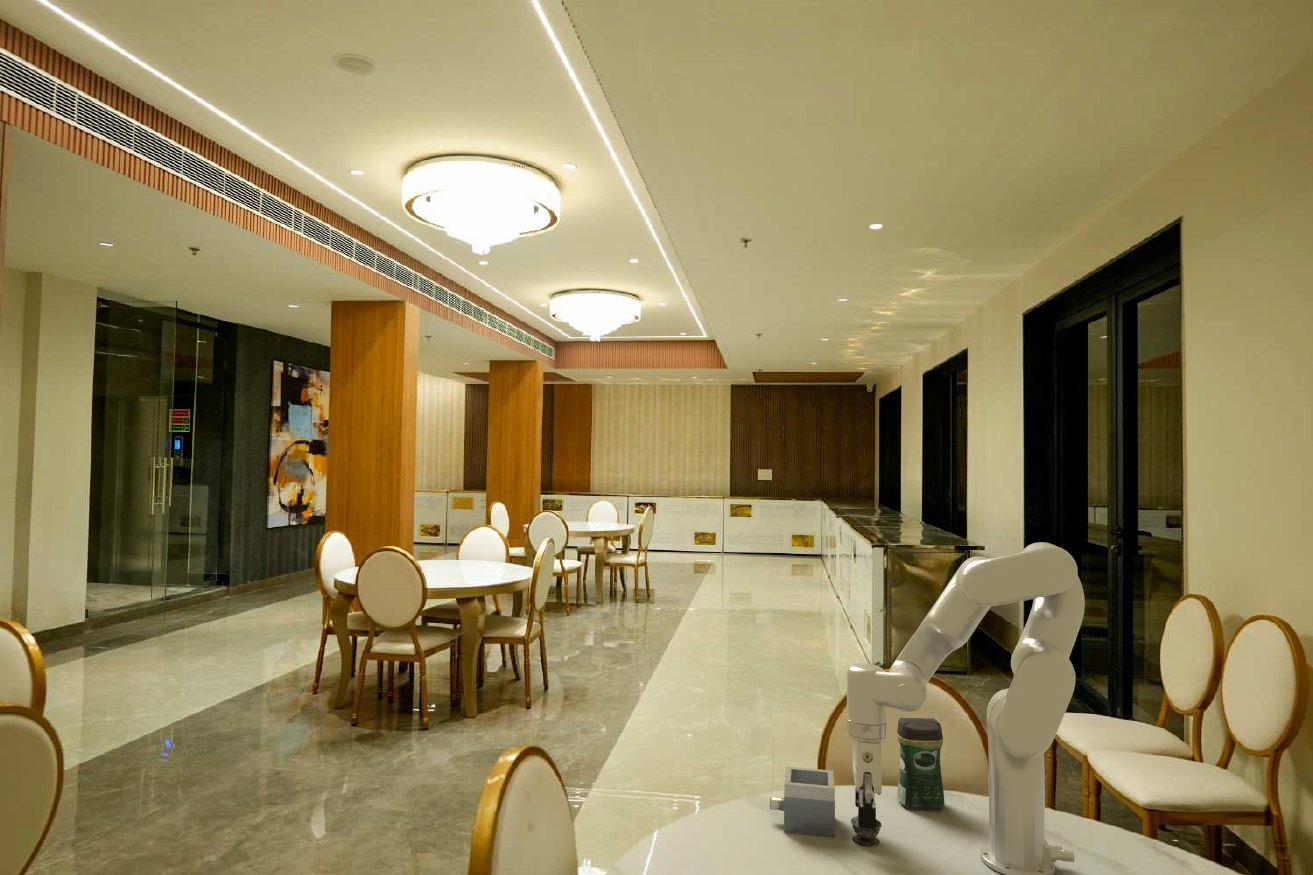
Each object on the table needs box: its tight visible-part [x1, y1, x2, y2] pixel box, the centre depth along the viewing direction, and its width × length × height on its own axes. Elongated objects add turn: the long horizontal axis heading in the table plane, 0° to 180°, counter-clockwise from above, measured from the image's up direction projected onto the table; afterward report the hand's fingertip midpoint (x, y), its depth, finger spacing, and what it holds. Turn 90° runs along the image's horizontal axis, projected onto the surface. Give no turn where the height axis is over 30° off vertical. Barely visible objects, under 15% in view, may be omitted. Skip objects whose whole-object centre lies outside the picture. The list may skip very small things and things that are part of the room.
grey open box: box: [769, 766, 836, 839], centre depth 161 cm, size 13×12×10 cm
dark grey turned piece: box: [850, 788, 883, 849], centre depth 152 cm, size 6×6×12 cm
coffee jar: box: [896, 717, 945, 811], centre depth 171 cm, size 10×8×19 cm
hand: (865, 817), depth 152 cm, fingers open, 9 cm apart
